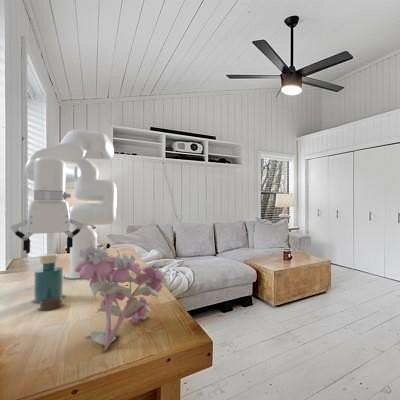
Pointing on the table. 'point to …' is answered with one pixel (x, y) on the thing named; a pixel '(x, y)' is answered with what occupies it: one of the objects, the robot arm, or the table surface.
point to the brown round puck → (50, 303)
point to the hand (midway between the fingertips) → (48, 251)
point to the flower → (117, 287)
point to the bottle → (48, 278)
